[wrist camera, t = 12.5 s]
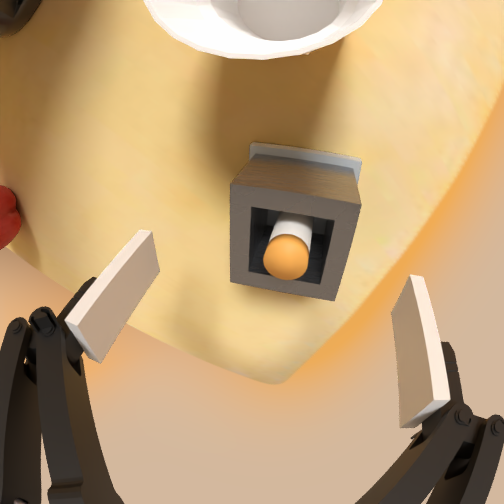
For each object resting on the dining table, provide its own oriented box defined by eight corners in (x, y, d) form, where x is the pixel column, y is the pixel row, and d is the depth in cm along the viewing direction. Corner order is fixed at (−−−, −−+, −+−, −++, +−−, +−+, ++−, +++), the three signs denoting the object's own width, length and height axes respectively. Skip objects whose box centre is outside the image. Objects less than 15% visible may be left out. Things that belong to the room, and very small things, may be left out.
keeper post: (248, 232, 25) (216, 300, 19) (252, 141, 21) (212, 183, 14) (340, 248, 24) (340, 323, 17) (360, 158, 19) (377, 209, 12)
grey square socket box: (251, 235, 24) (230, 281, 19) (255, 153, 20) (230, 183, 15) (335, 249, 23) (334, 301, 18) (353, 168, 19) (361, 204, 14)
